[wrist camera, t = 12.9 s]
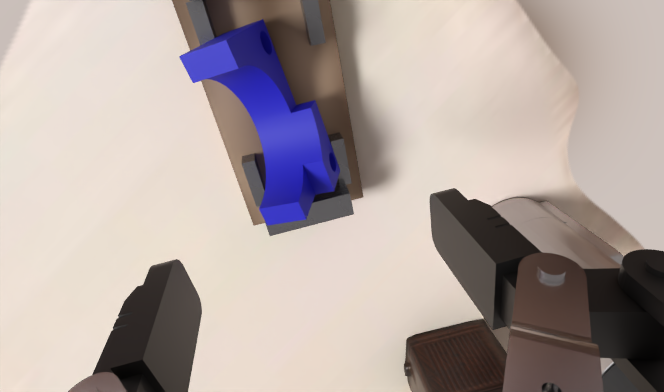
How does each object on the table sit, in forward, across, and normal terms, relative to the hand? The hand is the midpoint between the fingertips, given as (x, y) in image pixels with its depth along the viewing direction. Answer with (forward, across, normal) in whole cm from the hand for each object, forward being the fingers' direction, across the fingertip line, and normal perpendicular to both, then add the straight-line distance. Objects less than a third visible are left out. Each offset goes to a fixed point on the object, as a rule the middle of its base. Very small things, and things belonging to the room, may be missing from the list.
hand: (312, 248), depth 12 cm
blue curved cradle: (+18, 0, 0) cm, 18 cm away
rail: (+20, 0, 0) cm, 20 cm away
